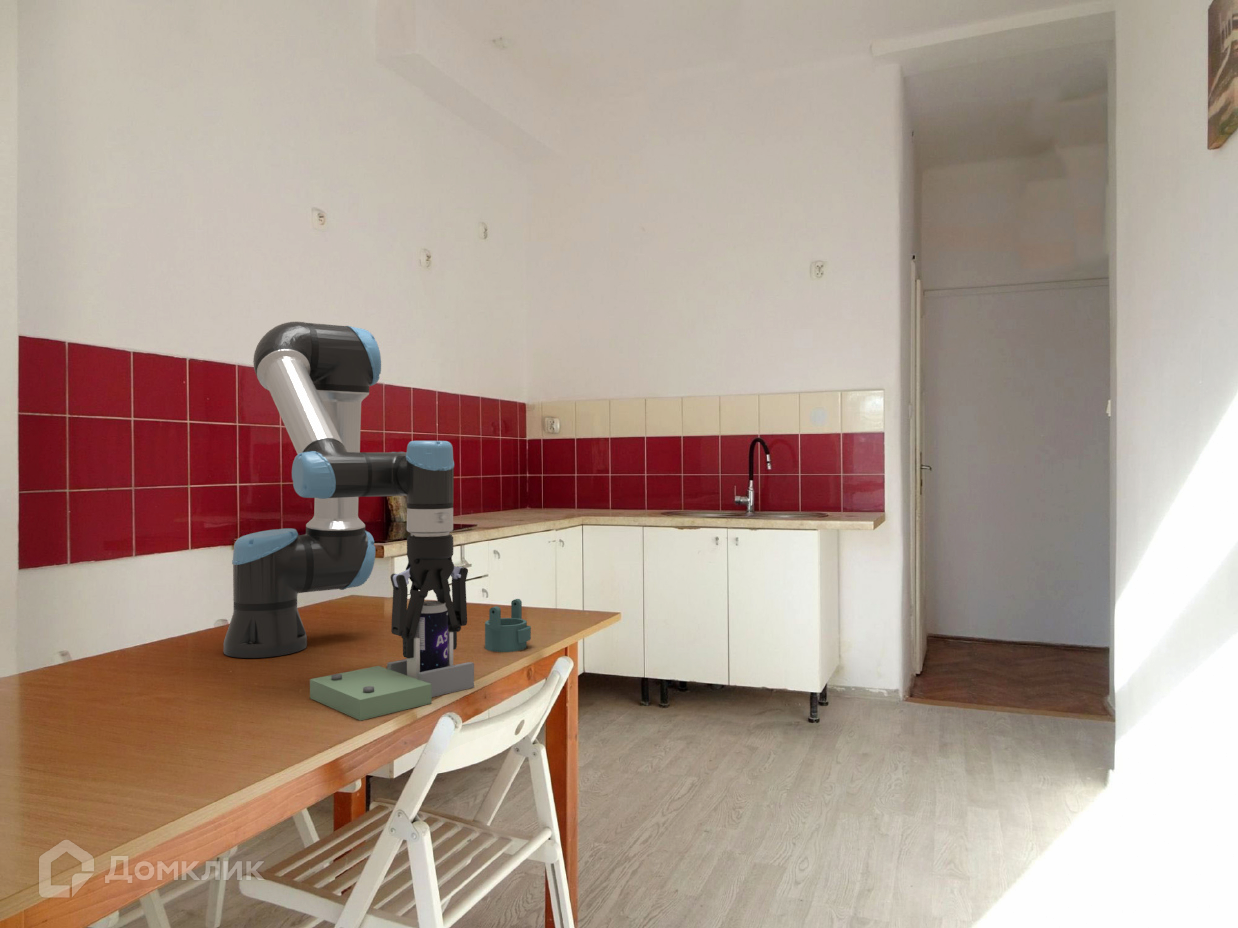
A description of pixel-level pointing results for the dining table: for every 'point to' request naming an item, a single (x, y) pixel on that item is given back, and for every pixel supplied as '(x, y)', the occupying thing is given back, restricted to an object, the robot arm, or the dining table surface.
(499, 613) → the bracket
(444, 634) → the beverage can
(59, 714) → the dining table surface
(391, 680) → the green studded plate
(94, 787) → the dining table surface
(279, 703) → the dining table surface
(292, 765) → the dining table surface
